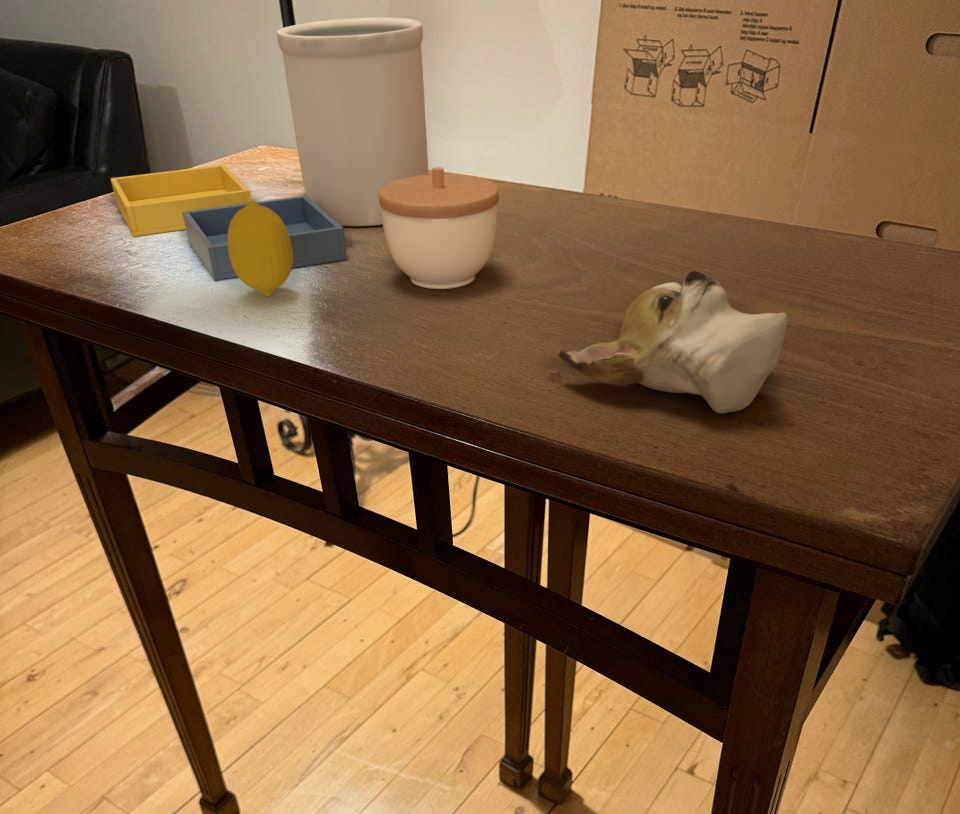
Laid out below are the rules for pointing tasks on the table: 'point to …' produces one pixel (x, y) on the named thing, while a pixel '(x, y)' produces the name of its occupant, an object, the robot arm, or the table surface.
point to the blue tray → (302, 218)
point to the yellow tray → (175, 196)
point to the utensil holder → (356, 110)
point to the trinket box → (440, 226)
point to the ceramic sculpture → (689, 345)
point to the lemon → (259, 248)
